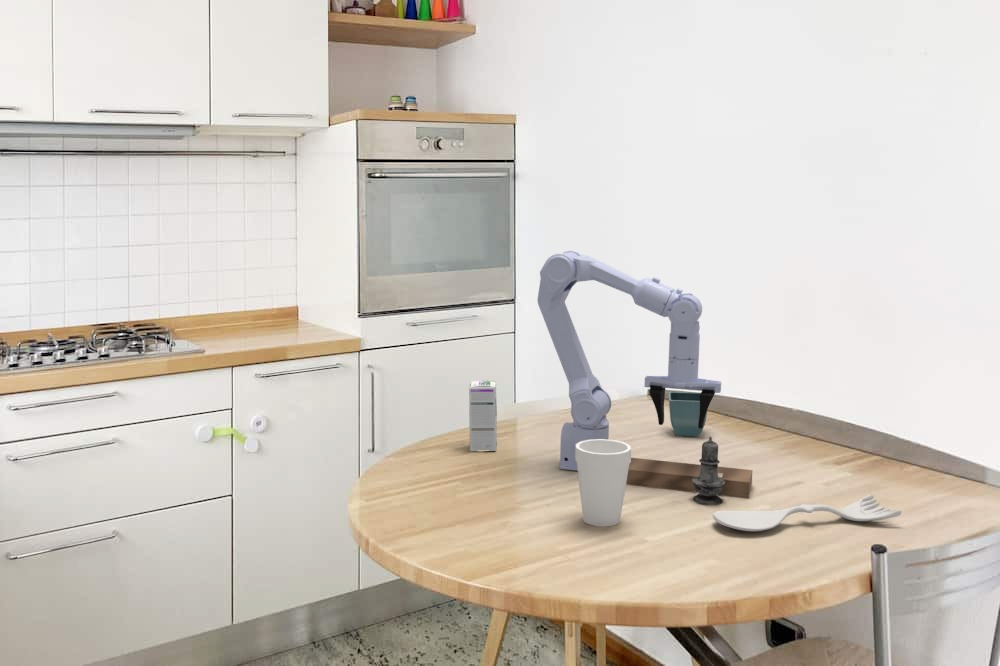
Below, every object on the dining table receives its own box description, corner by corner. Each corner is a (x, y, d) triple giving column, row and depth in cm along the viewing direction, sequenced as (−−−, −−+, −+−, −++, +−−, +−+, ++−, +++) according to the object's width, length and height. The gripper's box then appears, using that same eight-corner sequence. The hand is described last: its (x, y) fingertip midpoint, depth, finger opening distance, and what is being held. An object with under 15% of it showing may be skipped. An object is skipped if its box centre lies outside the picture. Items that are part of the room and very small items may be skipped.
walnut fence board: (620, 483, 180) (620, 466, 180) (628, 471, 188) (628, 455, 187) (748, 498, 173) (749, 480, 172) (751, 485, 180) (752, 468, 180)
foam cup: (564, 514, 163) (566, 442, 161) (611, 507, 167) (613, 437, 165) (590, 533, 155) (592, 457, 153) (639, 525, 158) (641, 451, 156)
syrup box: (496, 452, 201) (496, 386, 198) (468, 452, 201) (469, 385, 198) (496, 445, 206) (497, 380, 204) (469, 444, 206) (470, 380, 204)
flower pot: (667, 438, 213) (669, 399, 212) (667, 428, 222) (668, 391, 220) (706, 440, 212) (708, 401, 210) (705, 430, 220) (706, 393, 219)
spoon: (901, 528, 159) (903, 509, 158) (726, 540, 153) (727, 520, 152) (871, 510, 168) (872, 492, 167) (703, 521, 161) (704, 502, 161)
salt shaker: (724, 506, 168) (727, 441, 166) (690, 503, 169) (693, 439, 167) (724, 496, 174) (727, 433, 172) (691, 493, 175) (694, 431, 173)
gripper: (642, 358, 180) (640, 426, 182) (719, 363, 175) (716, 433, 177) (649, 352, 186) (646, 418, 189) (723, 357, 182) (720, 425, 184)
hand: (680, 425), depth 183 cm, fingers open, 7 cm apart
